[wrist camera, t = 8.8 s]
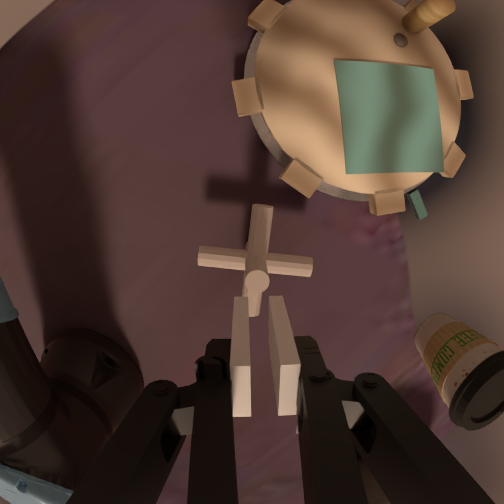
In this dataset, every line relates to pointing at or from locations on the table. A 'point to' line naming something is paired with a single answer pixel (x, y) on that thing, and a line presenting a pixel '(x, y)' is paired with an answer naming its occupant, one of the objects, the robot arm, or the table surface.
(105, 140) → the table surface
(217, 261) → the light wooden cross
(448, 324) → the coffee cup
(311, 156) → the sprocket
